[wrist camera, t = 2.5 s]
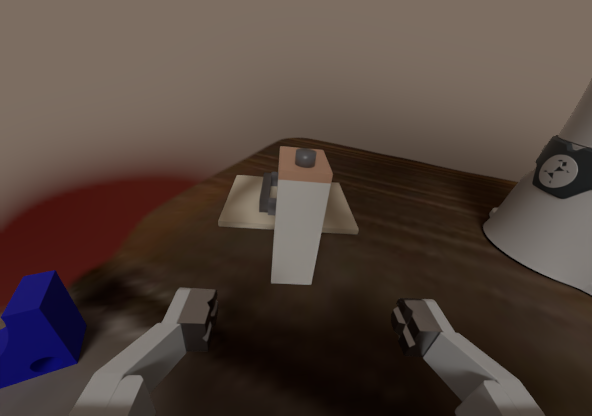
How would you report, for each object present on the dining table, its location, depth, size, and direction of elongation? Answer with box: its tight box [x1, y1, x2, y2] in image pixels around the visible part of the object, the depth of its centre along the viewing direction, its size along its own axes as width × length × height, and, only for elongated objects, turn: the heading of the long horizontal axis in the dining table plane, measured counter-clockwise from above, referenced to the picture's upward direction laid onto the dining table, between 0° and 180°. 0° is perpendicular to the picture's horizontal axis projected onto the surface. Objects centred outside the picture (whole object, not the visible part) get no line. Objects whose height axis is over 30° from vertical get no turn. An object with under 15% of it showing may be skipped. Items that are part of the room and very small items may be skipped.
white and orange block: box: [271, 146, 333, 285], centre depth 23 cm, size 4×6×13 cm
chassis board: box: [218, 172, 359, 234], centre depth 37 cm, size 18×14×3 cm
